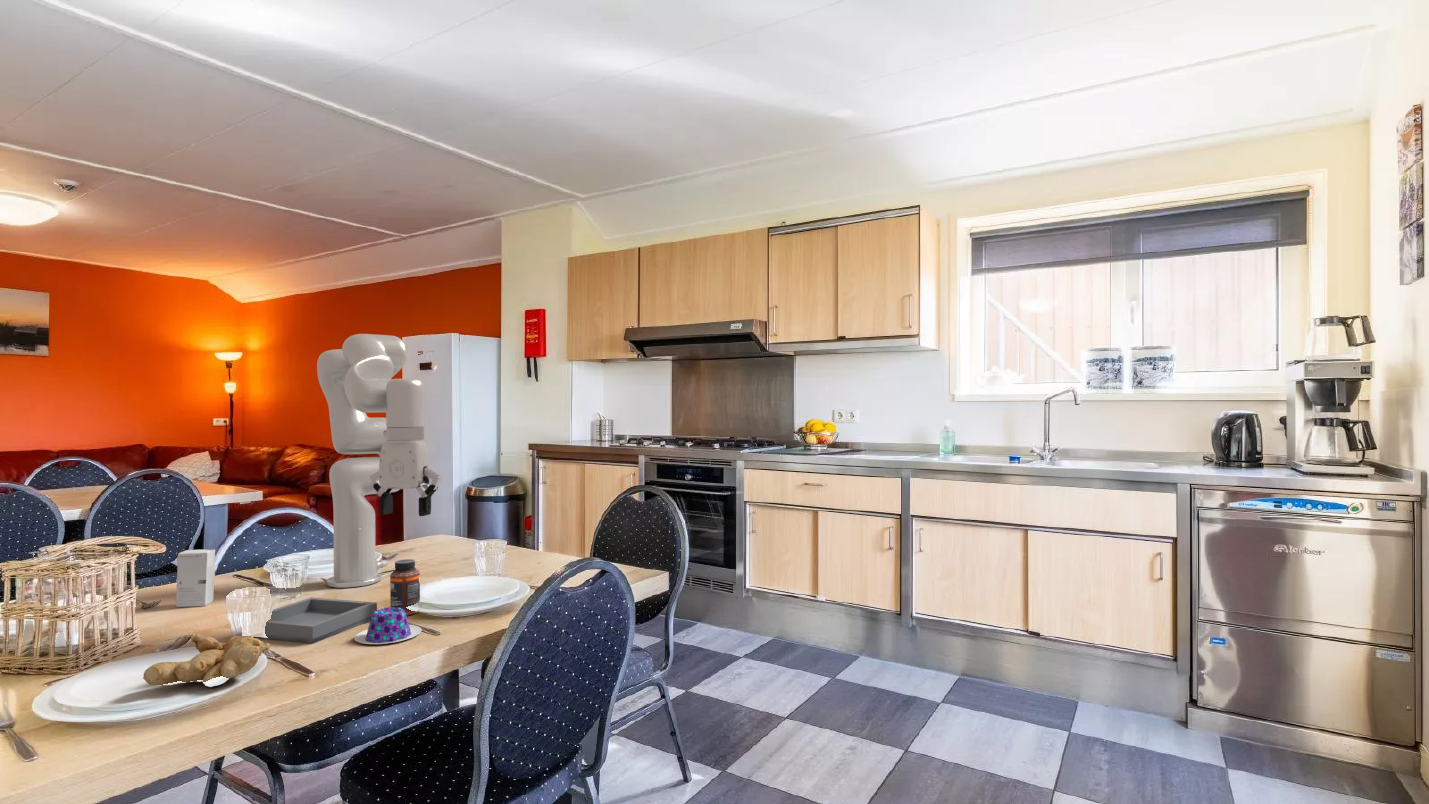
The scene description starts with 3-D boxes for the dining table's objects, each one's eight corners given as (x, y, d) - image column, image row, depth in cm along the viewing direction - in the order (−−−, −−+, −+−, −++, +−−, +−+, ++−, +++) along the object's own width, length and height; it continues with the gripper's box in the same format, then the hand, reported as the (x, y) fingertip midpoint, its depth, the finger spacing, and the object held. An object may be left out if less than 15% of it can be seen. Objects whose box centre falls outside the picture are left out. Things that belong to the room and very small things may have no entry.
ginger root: (298, 651, 127) (290, 610, 125) (241, 709, 112) (230, 664, 110) (210, 654, 127) (201, 614, 125) (141, 713, 112) (129, 668, 110)
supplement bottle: (425, 609, 158) (425, 558, 158) (411, 617, 152) (411, 564, 152) (399, 608, 158) (399, 557, 158) (384, 616, 152) (384, 563, 152)
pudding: (357, 652, 131) (357, 623, 131) (350, 634, 142) (350, 608, 142) (426, 640, 138) (426, 613, 138) (415, 624, 148) (415, 599, 148)
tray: (311, 612, 156) (311, 597, 156) (376, 617, 152) (376, 602, 152) (241, 636, 140) (241, 619, 140) (312, 643, 135) (312, 626, 135)
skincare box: (175, 608, 160) (175, 553, 160) (185, 602, 164) (185, 549, 164) (206, 606, 161) (206, 552, 161) (215, 600, 165) (215, 548, 165)
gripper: (359, 436, 154) (359, 516, 154) (428, 436, 149) (428, 518, 149) (383, 435, 161) (384, 511, 161) (450, 435, 157) (450, 513, 156)
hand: (405, 514), depth 155 cm, fingers open, 9 cm apart
